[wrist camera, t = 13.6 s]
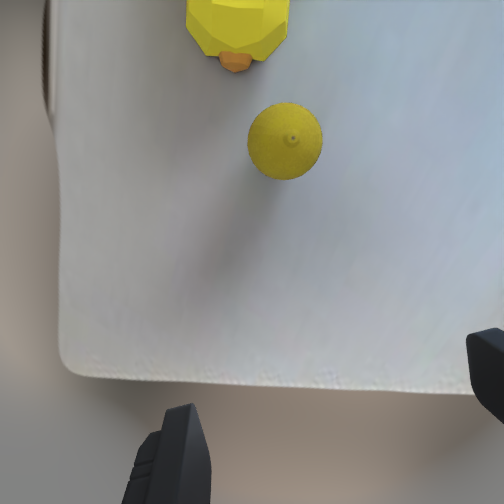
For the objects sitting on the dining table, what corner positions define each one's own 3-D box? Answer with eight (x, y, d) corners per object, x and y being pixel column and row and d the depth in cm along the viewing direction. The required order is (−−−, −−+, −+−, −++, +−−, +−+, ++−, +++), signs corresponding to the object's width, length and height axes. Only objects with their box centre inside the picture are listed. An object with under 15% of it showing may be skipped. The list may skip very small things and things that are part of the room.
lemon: (284, 191, 33) (300, 197, 25) (232, 153, 32) (233, 147, 24) (322, 138, 32) (352, 128, 24) (271, 97, 31) (284, 73, 23)
